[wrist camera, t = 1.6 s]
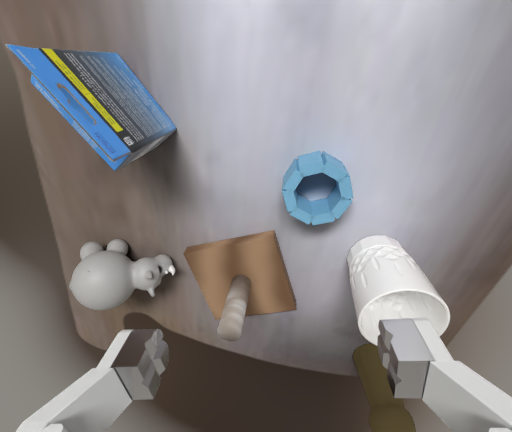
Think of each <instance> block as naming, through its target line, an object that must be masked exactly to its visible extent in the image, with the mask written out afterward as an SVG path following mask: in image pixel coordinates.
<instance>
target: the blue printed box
mask: <svg viewBox="0 0 512 432" xmlns="http://www.w3.org/2000/svg"><path fill="white" fill-rule="evenodd" d="M5 46H6V47H7V48H8V49H9V50H10V51H11V52H12V53H13V54H14V55H15V56H16V57H17V58H18V59H19V60H20V61H21V62H22V63H23V65H24V66H25V67H26V68H27V69H28V70H29V71H30V72H31V73H32V76H31V83H32V84H33V85H34V86H35V87H36V88H37V89H38V90H39V91H40V93H41V94H42V95H43V96H44V97H45V98H46V99H47V100H48V101H49V102H50V103H51V104H52V105H53V106H54V107H55V108H56V109H57V110H58V111H59V113H60V114H61V115H62V116H63V117H64V118H65V119H66V120H67V121H68V122H69V123H70V124H71V125H72V126H73V127H74V128H75V129H76V130H77V132H78V133H79V134H80V135H81V136H82V137H83V138H84V139H85V140H86V141H87V142H88V143H89V144H90V145H91V146H92V148H93V149H94V150H95V151H96V152H97V153H98V154H99V155H100V156H101V157H102V158H103V159H104V160H105V161H106V162H107V163H108V165H109V166H110V167H111V168H112V169H113V170H114V171H117V170H119V169H120V168H122V167H124V166H125V165H127V164H129V163H131V162H132V161H134V160H136V159H138V158H139V157H141V156H143V155H145V154H146V153H148V152H149V151H151V150H153V149H155V148H156V147H157V146H159V145H160V144H161V143H162V142H163V141H164V140H165V139H167V138H168V137H169V136H170V135H171V134H172V133H173V132H174V131H175V130H176V127H175V126H174V124H173V123H172V121H171V120H170V119H169V118H168V116H167V115H166V114H165V112H164V111H163V110H162V109H161V107H160V106H159V105H158V104H157V102H156V101H155V100H154V98H153V97H152V96H151V95H150V93H149V92H148V91H147V90H146V88H145V87H144V86H143V85H142V83H141V82H140V81H139V80H138V78H137V77H136V76H135V75H134V73H133V72H132V71H131V70H130V68H129V67H128V66H127V64H126V63H125V62H124V61H123V60H122V58H121V57H120V56H119V55H118V54H117V53H108V52H93V51H77V50H61V49H44V48H29V47H24V46H16V45H10V44H5Z"/></svg>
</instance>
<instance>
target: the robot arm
mask: <svg viewBox="0 0 512 432" xmlns="http://www.w3.org/2000/svg"><path fill="white" fill-rule="evenodd" d="M378 328H379V331H380V333H381V334H380V335H379V336H378V342H377V344H378V352H379V355H380V359H381V362H382V365H383V366H384V367H385V368H386V369H387V370H388V372H387V379H388V382H389V385H390V388H391V391H392V393H393V396H394V398H415V399H416V398H417V399H422V400H423V401H424V402H425V403H426V404H427V406H428V407H429V408H430V409H432V411H433V412H434V413H435V414H436V415H437V416H438V417H439V418H440V419H441V420H442V421H443V422H444V423H445V424H446V425H447V426H448V427H449V428H450V429H451V430H452V431H453V432H512V398H511V397H510V396H509V395H507V394H506V393H504V392H503V391H502V390H500V389H499V388H497V387H496V386H494V385H493V384H492V383H490V382H489V381H487V380H486V379H484V378H483V377H482V376H480V375H479V374H477V373H476V372H474V371H473V370H472V369H470V368H468V367H467V366H466V365H464V364H463V363H462V362H460V361H454V360H453V358H452V357H451V355H450V353H449V352H448V350H447V348H446V347H445V345H444V343H443V342H442V340H441V339H440V337H439V335H438V334H437V332H436V330H435V329H434V327H433V325H432V324H431V322H430V321H429V320H428V319H427V318H410V319H409V318H404V319H385V320H380V321H379V325H378ZM162 337H163V334H162V332H161V330H160V329H138V330H137V329H134V330H122V331H120V332H119V333H118V334H117V336H116V338H115V339H114V341H113V342H112V344H111V345H110V347H109V349H108V350H107V352H106V353H105V355H104V357H103V358H102V360H101V361H100V363H99V365H98V366H97V368H93V369H91V370H90V371H89V372H87V373H86V374H85V375H83V376H82V377H81V378H79V379H78V380H77V381H76V382H74V383H73V384H72V385H70V386H69V387H68V388H66V389H65V390H64V391H63V392H61V393H60V394H59V395H57V396H56V397H55V398H53V399H52V400H51V401H50V402H48V403H47V404H46V405H44V406H43V407H42V408H41V409H39V410H38V411H37V412H35V413H34V414H33V415H31V416H30V417H29V418H27V419H26V420H25V421H24V422H23V423H22V424H21V425H20V427H19V428H18V429H17V431H16V432H105V431H106V430H107V428H108V427H109V426H110V425H111V424H112V423H113V422H114V421H115V420H116V418H117V417H118V416H119V415H120V414H121V413H122V412H123V411H124V410H125V408H126V407H127V406H128V405H129V404H130V403H131V402H132V400H139V399H154V397H155V394H156V392H157V389H158V387H159V384H160V382H161V380H160V376H159V375H160V374H161V373H162V372H163V371H164V370H165V369H166V366H167V363H168V359H169V349H168V346H167V343H165V342H164V341H162Z"/></svg>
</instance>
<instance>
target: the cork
mask: <svg viewBox="0 0 512 432" xmlns="http://www.w3.org/2000/svg"><path fill="white" fill-rule="evenodd" d="M353 360H354V363H355V366H356V369H357V372H358V374H359V377H360V380H361V383H362V386H363V389H364V391H365V394H366V397H367V400H368V403H369V406H370V408H371V411H370V414H369V424H370V427H371V430H372V432H416V430H415V424H414V421H413V419H412V417H411V415H410V413H409V412H408V411H407V410H406V409H405V408H404V404H403V398H394V396H393V393H392V391H391V388H390V385H389V382H388V379H387V372H388V370H387V369H386V368H385V367H384V366H383V365H382V362H381V359H380V355H379V352H378V346H376V345H374V344H372V343H370V344H365V345H362V346H360V347H358V348H357V349H356V350H355V351H354V353H353Z"/></svg>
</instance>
